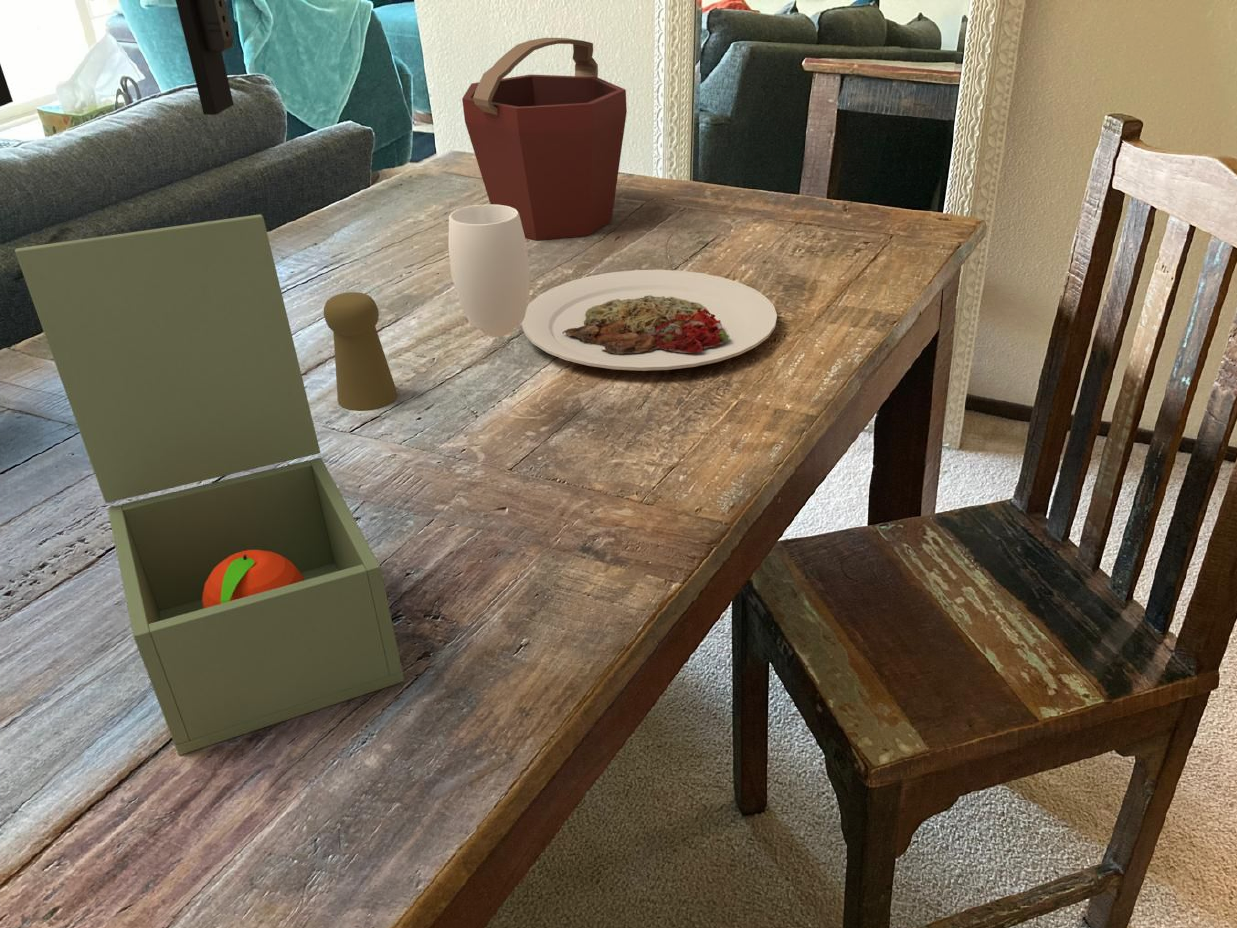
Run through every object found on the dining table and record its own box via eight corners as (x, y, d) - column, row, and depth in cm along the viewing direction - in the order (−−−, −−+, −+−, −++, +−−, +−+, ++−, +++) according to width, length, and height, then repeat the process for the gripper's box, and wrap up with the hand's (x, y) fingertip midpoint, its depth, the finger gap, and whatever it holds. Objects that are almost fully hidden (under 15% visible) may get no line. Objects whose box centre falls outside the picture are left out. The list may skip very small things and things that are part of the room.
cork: (375, 414, 111) (354, 311, 105) (325, 404, 113) (302, 303, 107) (409, 390, 116) (391, 290, 110) (361, 381, 118) (341, 282, 111)
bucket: (580, 191, 177) (568, 21, 163) (667, 223, 163) (663, 41, 150) (446, 222, 163) (421, 40, 149) (530, 259, 150) (510, 63, 136)
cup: (545, 433, 108) (524, 225, 96) (470, 439, 107) (440, 228, 95) (544, 401, 114) (524, 201, 102) (473, 406, 113) (445, 204, 101)
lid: (263, 216, 74) (260, 214, 75) (14, 251, 68) (14, 248, 69) (320, 453, 83) (318, 449, 84) (105, 503, 77) (104, 499, 77)
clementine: (289, 679, 76) (266, 596, 72) (192, 674, 76) (163, 592, 72) (331, 609, 82) (311, 530, 78) (241, 606, 83) (217, 527, 79)
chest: (404, 681, 77) (380, 566, 72) (178, 755, 71) (133, 636, 65) (345, 563, 89) (320, 457, 84) (147, 618, 83) (107, 507, 77)
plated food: (570, 275, 145) (568, 250, 143) (794, 294, 140) (795, 268, 138) (482, 369, 120) (479, 340, 118) (750, 395, 115) (750, 366, 113)
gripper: (-338, -355, 51) (-141, 119, 63) (194, -348, 51) (291, 125, 63) (-221, -337, 57) (-62, 92, 69) (253, -331, 57) (331, 97, 69)
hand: (107, 109), depth 66 cm, fingers open, 13 cm apart
